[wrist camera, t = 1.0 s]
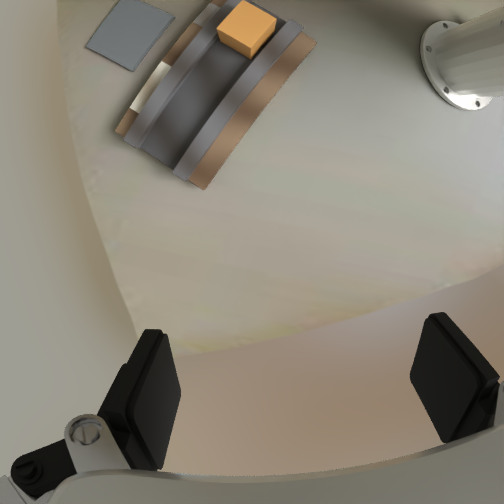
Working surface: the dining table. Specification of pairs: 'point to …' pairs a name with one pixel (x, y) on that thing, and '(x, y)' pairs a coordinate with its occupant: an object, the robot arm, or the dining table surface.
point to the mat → (129, 32)
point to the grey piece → (209, 94)
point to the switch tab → (246, 29)
